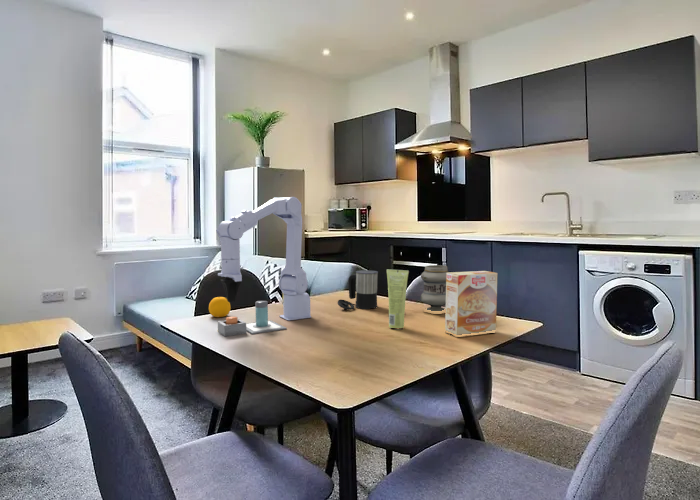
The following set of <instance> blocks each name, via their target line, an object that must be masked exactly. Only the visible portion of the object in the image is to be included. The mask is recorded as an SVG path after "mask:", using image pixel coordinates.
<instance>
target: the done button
mask: <svg viewBox="0 0 700 500" xmlns="http://www.w3.org/2000/svg"><path fill="white" fill-rule="evenodd" d="M238 319H239V318H238V316H226V317H225V320H226V325H228V324H236V323H238Z"/></svg>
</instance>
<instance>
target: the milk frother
mask: <svg viewBox="0 0 700 500" xmlns="http://www.w3.org/2000/svg"><path fill="white" fill-rule="evenodd" d="M378 274H379V271H377V270H372V269H371V270H370V269H369V270H368V269H367V270H366V269H362V270H356V271H355V273H352V274H350V275H349V277H348V297H349V299H350V300H355V304H354V303H353V302H350V301H348V300H345V299H338V300H337V305H338V306H339V307H340V308H342V309H344V310H345V311H348V310H349V311H350V310H351V311H352V310H354V309H355V308H357V309H361V310H362V309H363V310H371V309H370V308H374V309H377V308H378V306H379V305H378V295H377V294H378ZM376 307H377V308H376Z"/></svg>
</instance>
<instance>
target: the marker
mask: <svg viewBox="0 0 700 500" xmlns="http://www.w3.org/2000/svg"><path fill="white" fill-rule="evenodd" d="M254 303H255V322H256V327H266V326H268V321H269V309H268V307H269V306H268V303H269V301H267V300H257V301H255V302H254Z"/></svg>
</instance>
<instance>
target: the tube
mask: <svg viewBox="0 0 700 500" xmlns="http://www.w3.org/2000/svg"><path fill="white" fill-rule="evenodd" d="M409 273H410V271H409V270H403V269H386V278H387V290H388V291H387V292H388V293H387V294H388V328H389V327H390V328H389V329H391V328H403V327H404V328H405V313H406V312H405V310H406V309H405V308H406V299H407V298H406V297H407V286H408V279H409ZM404 328H403V329H404Z"/></svg>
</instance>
